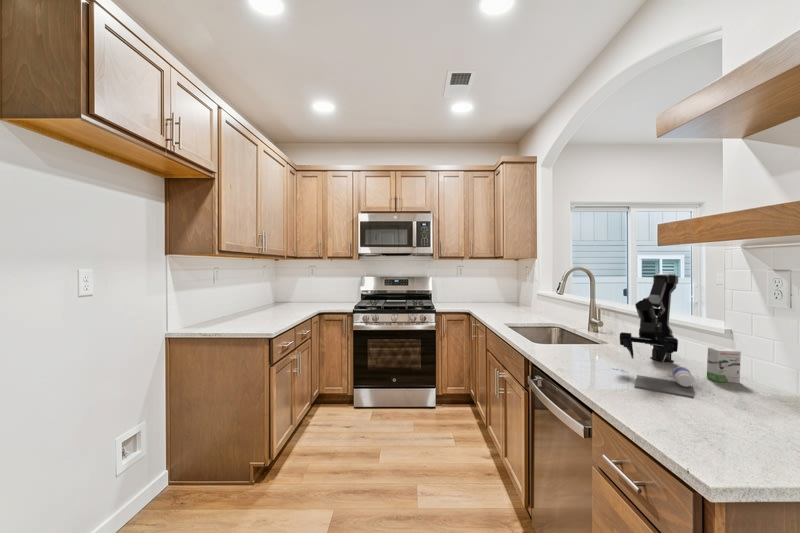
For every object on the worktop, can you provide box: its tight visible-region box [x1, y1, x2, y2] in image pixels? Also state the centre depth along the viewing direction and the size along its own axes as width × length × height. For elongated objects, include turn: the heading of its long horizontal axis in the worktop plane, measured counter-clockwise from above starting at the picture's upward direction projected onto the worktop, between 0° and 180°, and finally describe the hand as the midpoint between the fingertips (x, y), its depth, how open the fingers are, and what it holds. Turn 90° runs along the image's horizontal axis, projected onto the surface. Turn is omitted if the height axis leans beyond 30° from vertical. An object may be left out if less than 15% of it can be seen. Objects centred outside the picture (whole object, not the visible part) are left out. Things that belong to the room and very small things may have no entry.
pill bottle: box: [672, 366, 695, 387], centre depth 129 cm, size 5×5×10 cm
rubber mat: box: [634, 374, 695, 399], centre depth 128 cm, size 16×16×1 cm
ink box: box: [706, 346, 742, 384], centre depth 137 cm, size 9×5×12 cm, turn 87°
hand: (646, 360), depth 138 cm, fingers open, 9 cm apart
